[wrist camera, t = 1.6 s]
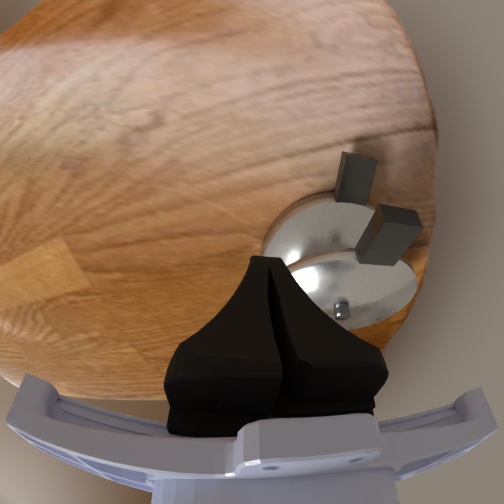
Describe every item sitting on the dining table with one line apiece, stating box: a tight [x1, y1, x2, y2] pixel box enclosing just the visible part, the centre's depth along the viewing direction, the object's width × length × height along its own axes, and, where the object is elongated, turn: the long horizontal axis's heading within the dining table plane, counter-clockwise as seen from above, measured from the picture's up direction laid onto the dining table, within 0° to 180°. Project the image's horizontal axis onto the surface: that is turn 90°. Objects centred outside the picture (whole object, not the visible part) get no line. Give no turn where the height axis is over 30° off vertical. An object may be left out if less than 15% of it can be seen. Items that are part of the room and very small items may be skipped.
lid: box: [287, 204, 423, 330], centre depth 19 cm, size 16×12×2 cm
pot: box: [260, 151, 377, 266], centre depth 22 cm, size 17×12×3 cm
